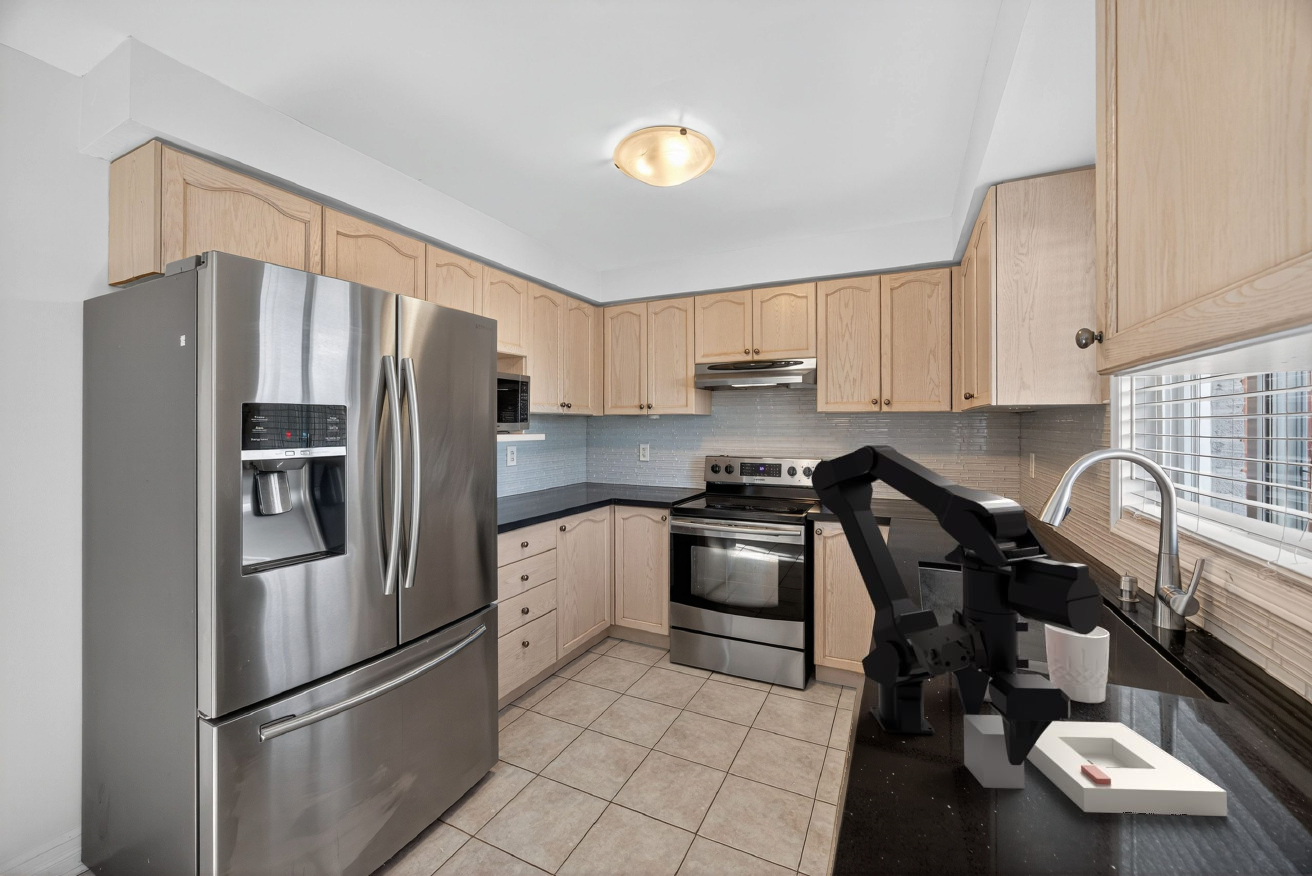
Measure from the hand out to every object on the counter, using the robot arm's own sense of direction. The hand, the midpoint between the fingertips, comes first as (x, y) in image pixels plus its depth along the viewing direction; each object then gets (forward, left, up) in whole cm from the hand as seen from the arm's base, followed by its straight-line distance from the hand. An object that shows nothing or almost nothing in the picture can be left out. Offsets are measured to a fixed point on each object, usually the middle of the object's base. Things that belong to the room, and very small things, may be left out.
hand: (991, 741), depth 64 cm
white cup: (-22, +24, -4) cm, 33 cm away
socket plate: (-1, +13, -4) cm, 14 cm away
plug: (0, +1, -4) cm, 4 cm away
